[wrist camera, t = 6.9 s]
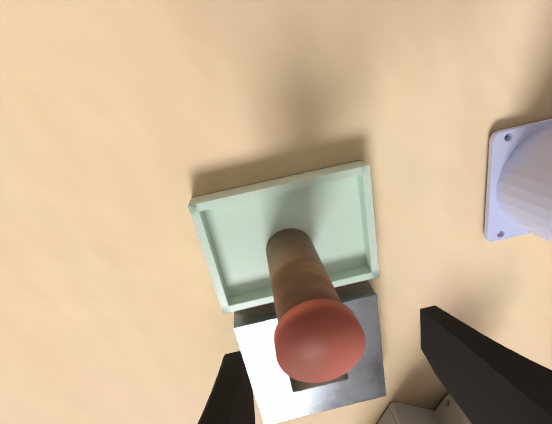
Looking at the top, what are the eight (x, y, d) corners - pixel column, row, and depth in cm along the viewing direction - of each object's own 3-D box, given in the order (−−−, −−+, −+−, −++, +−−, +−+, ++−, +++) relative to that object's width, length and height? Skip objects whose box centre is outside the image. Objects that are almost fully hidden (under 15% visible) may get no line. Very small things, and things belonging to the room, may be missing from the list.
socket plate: (365, 278, 23) (376, 294, 21) (375, 374, 27) (386, 395, 25) (234, 309, 23) (234, 328, 21) (263, 402, 27) (264, 425, 25)
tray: (360, 160, 20) (369, 165, 18) (370, 265, 23) (379, 276, 21) (191, 197, 20) (188, 205, 18) (224, 300, 22) (223, 313, 21)
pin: (312, 218, 20) (361, 301, 12) (320, 266, 22) (369, 371, 14) (255, 231, 20) (267, 324, 12) (267, 279, 22) (285, 391, 14)
